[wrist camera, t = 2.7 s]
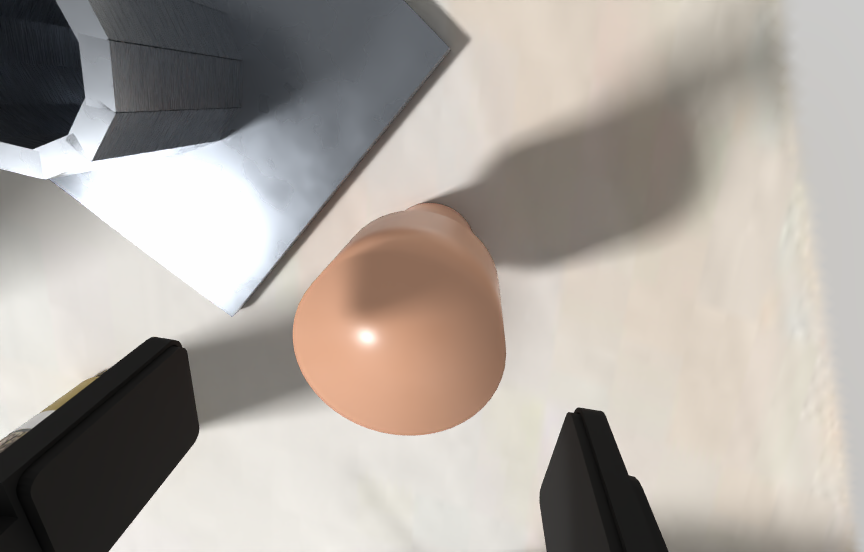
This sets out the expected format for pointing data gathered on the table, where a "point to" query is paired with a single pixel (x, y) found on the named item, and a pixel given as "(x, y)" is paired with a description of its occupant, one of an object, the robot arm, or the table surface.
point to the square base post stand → (205, 116)
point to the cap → (405, 324)
